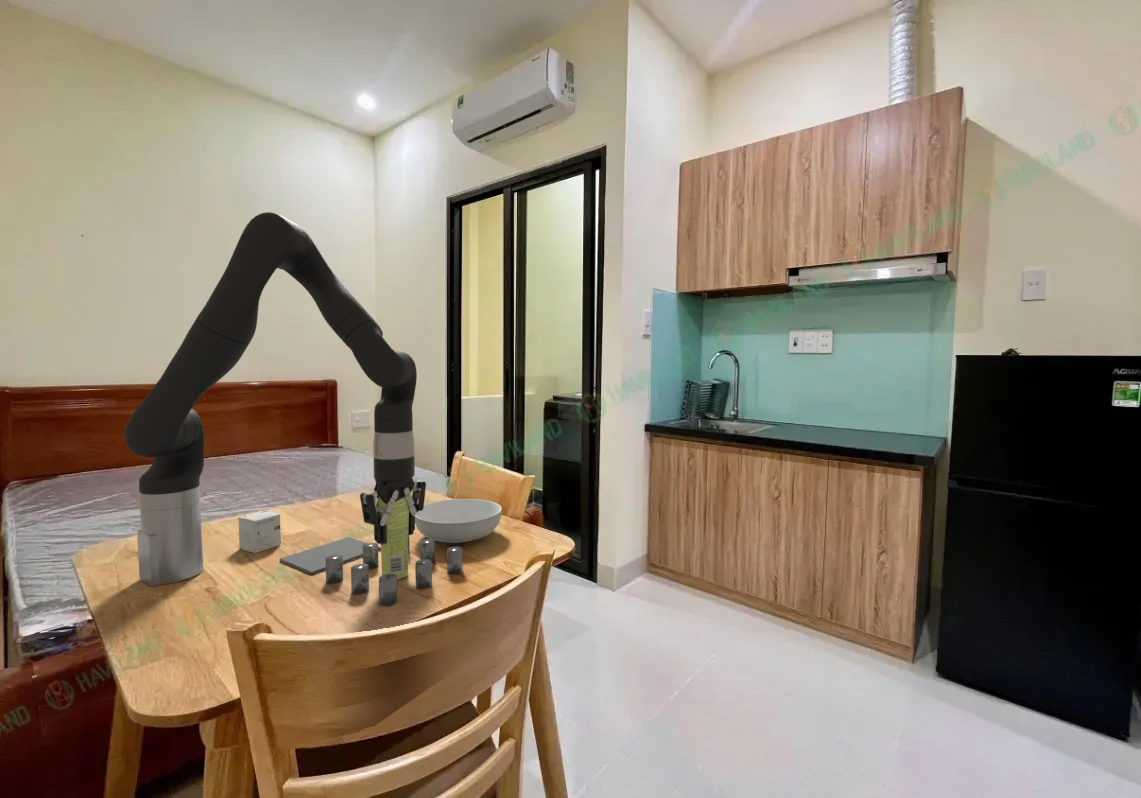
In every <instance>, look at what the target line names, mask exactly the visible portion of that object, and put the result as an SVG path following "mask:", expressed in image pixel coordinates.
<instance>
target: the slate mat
mask: <svg viewBox="0 0 1141 798" xmlns="http://www.w3.org/2000/svg"><path fill="white" fill-rule="evenodd" d="M366 543H367V542H365V541H363V540H360V539H356V538H354V537H353V538H352V537H350V536H347V537H344V538H341V539H337V540H334V541H332V542H328V543H325V544H322V545H319V546H315V547H312V548H308V549H305V550H303V551H299V552H297V553H293V554H290V555H286V556H284V557H280V558H279V562H280V563H282V564H285V565H288V566H289V567H292V568H294V569H298V570H300V571H302V572H305V573H307V574H309V575H315V574H318V573H321V572H324V571H326V560H325V559H326V557H328V556H331V555H342V556H343V564H346V563H349V562H351V561H355V560H357V559H360V558H363V547H362V546H363V545H364V544H366ZM379 551H380V552H381V546H378V552H379Z"/></svg>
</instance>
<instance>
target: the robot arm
mask: <svg viewBox="0 0 1141 798" xmlns="http://www.w3.org/2000/svg"><path fill="white" fill-rule="evenodd" d="M312 239H313V238H311V236H310V235H309V234H308V232H307V231H306V229H304V228H303V227H302V226H300V225H298V224H297V223H295V222H294V221H291V220H290V219H288V218H286V217H284V216H283V215H281V214H278V213H275V212H271V211H269V212H262V213H259V214H257V215H255V216H254V217H253V218H251V219H250V221H249V222H247V224H246V226H245V227H244V229H243V230H242V233H241V234H240V237H239V239H238V241H237V244H236V246H235V248H234V251H233V253H232V255H231V258H230V260H229V262H228V264H227V266H226V268H225V270H224V271H223V274H222V276H221V277H220V280H218V282H217V284H216V286H215V288H214V289H213V291H212V293H211V295H210V296H209V298H208V300H207V302H206V303H205V305H204V306H203V308H202V309H201V310H200V312H199V314H198V315H197V317H196V319H195V320H194V321H193V323H192V325H191V327H190V328H189V330H188V331H187V333H186V335H185V337H184V338H183V341H182V343H181V344H180V346H179V347H178V349H177V351H176V352H175V354H174V355H173V357H172V359H171V360H170V361H169V363H168V365H167V367H166V368H165V370H164V371H163V372H162V375H161V376H160V378H159V379H158V381H157V382H156V384H155V385H154V387H153V388H152V389H151V390H150V392H148V394H147V395H146V397H145V398H144V399H143V400H142V401H141V403H140V404H139V405H138V407H137V408H136V409H135V410H134V412H133V413H132V414H131V415H130V416H129V419H128V421H127V422H126V426H125V429H124V440H125V444H126V446H127V448H128V450H130V452H131V453H133V454H134V455H137V456H138V457H142V458H153V462H152V464H151V465H150V467H149V468H148V470H146V471H145V472H144V473H143V474H142V475H141V476H140V478H139V479H138V491H139V496H138V497H139V510H140V512H139V513H140V514H139V515H140V528H141V529H139V530H137V532H136V533H137V534H136V535H137V551H138V554H137V555H138V569H139V570H138V571H139V572H138V574H139V580H141V581H142V582H143V583H146V584H147V585H148V586H151V587H155V586H159V585H163V584H165V585H166V584H171V583H176V582H181V581H185V580H188V579H190V578H193V577H195V576H197V575H199V574H200V573H202V572H203V571H204V551H203V550H204V549H203V530H202V529H203V528H202V527H203V526H202V506H201V487H200V485H201V483H200V479H201V478H200V477H201V475H202V472H203V470H204V466H205V429H204V424H203V421H202V418H201V417H200V415H199V414H198V412H197V411H196V410H194V409H193V408H194V407H195V404H196V403H197V401H199V399H200V398H201V397H202V396H203V394H205V393H206V392H207V391H208V390H209V389H210V388H212V387H213V386H214V385H216V383H218V382H219V381H220V380H221V379H222V378H223V377H224V376H226V374H228V373H229V372H230V371H231V370H232V369H233V368H234V367H235V366H236V365H237V363H238V362H239V361H240V360H241V358H242V357H243V355H244V353H245V352H246V350H247V349H248V347H249V345H250V343H251V341H252V340H253V338H254V336H255V333H256V330H257V325H258V313H259V304H260V299H261V296H262V294H263V291H264V289H265V287H266V285H267V284H268V282H269V281H270V279H271V277H272V276H273V274H274V273H275V271H276V270H277V269H278V270H283V271H284V272H286V273H287V274H288V275H290V276H291V277H292V278H293V279H294V280H296V281H297V282H298V283H299V284H300V285H301V286H302V287H303V288H304V289H305V290H306V292H308V294H309V295H310V297H311V298H312V300H313V301H314V302H315V304H316V306H317V308H318V310H319V312H320V314H321V316H322V317H323V319H324V320H325V322H326V324H328V326H329V327H330V329H332V331H333V332H334V333H335V334H336V335H337V336H338V338H339V339H340V340H341V341H342V342H343V344H345V346H346V347H348V348H349V349H350V351H351V352H352V354H353V357H354V358H355V360H356V362H357V364H358V365H359V366H360V368H361V370H362V371H363V372H364V374H365V375H366V377H367V378H368V379H369V380H370V381H371V382H372V383H374V384H375V385H376V386H378V387H380V388H381V393H380V399H379V401H378V402H377V403H375V405H374V409H373V410H374V411H373V422H374V425H373V426H374V428H373V429H374V431H373V432H374V434H373V442H372V443H373V444H372V445H373V450H372V451H373V478H374V481H375V486H374V489H373V490H374V491H373V490H371V491H369V492H361V493H360V495H359V498H360V499H359V500H360V503H361V504H360V505H361V510H362V518H363V522H364V523H366V524H369V525H371V526H372V525H373V538H374V541H375V543H378V545H380V546H381V545H383V544H386V542H387V540H386V525H385V523H386V520H387V517H388V515H389V514H390V513H391V511H392V508H393V505H394V503H395V502H396V501H398V500H400V499H401V498H405V500H406V502H407V504H408V507H409V528H408V535H409V536H411V535H413V534H414V531H415V530H416V524H415V515H416V514H417V512H418V511H422V510H423V508H424V505H425V498H426V489H427V482H426V481H423V480H419V479H415V480H414V479H413V478H414V477H415V472H416V470H415V439H414V432H413V431H414V430H413V425H414V424H413V423H414V422H413V403H414V401H415V400H414V398H415V393H416V387H417V376H418V374H417V366H416V363H415V361H414V359H413V358H412V356H411V355H410V354H408V353H407V352H404V351H398V350H394V349H393V348H392V347H391V346H390V345H389V343H388V342H387V341H386V339H385V338H384V336H383V335H384V332H383V329H382V328H381V326H380V325H379V324H378V323H377V321H375V319H374V318H373V317H372V316H371V315H370V313H368V311H367V310H366V309H365V307H363V306H362V304H361V303H359V301H358V300H357V299H356V298H355V296H353V294H351V292H350V291H349V290H348V289H347V288H346V287H345V285H343V283H342V282H341V281H340V279H339V278H338V277H337V275H336V274H335V273H334V271H333V270H332V268H331V267H330V266H329V265H328V263H327V261H326V259H324V257H323V255H322V254H321V252H320V250H319V248H318V247H317V246H316V244H315V243H314V241H313V240H312ZM377 487H378V488H377ZM411 494H412V495H411ZM378 496H379V497H380V498H381V500H382V501H383V502H384V503H385V504H387V505H386V507H385V508H380V507H379V501H377V503H376V506H375V502H376V497H377V498H378V499H379V497H378ZM380 512H382V515H381V517H380Z"/></svg>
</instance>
